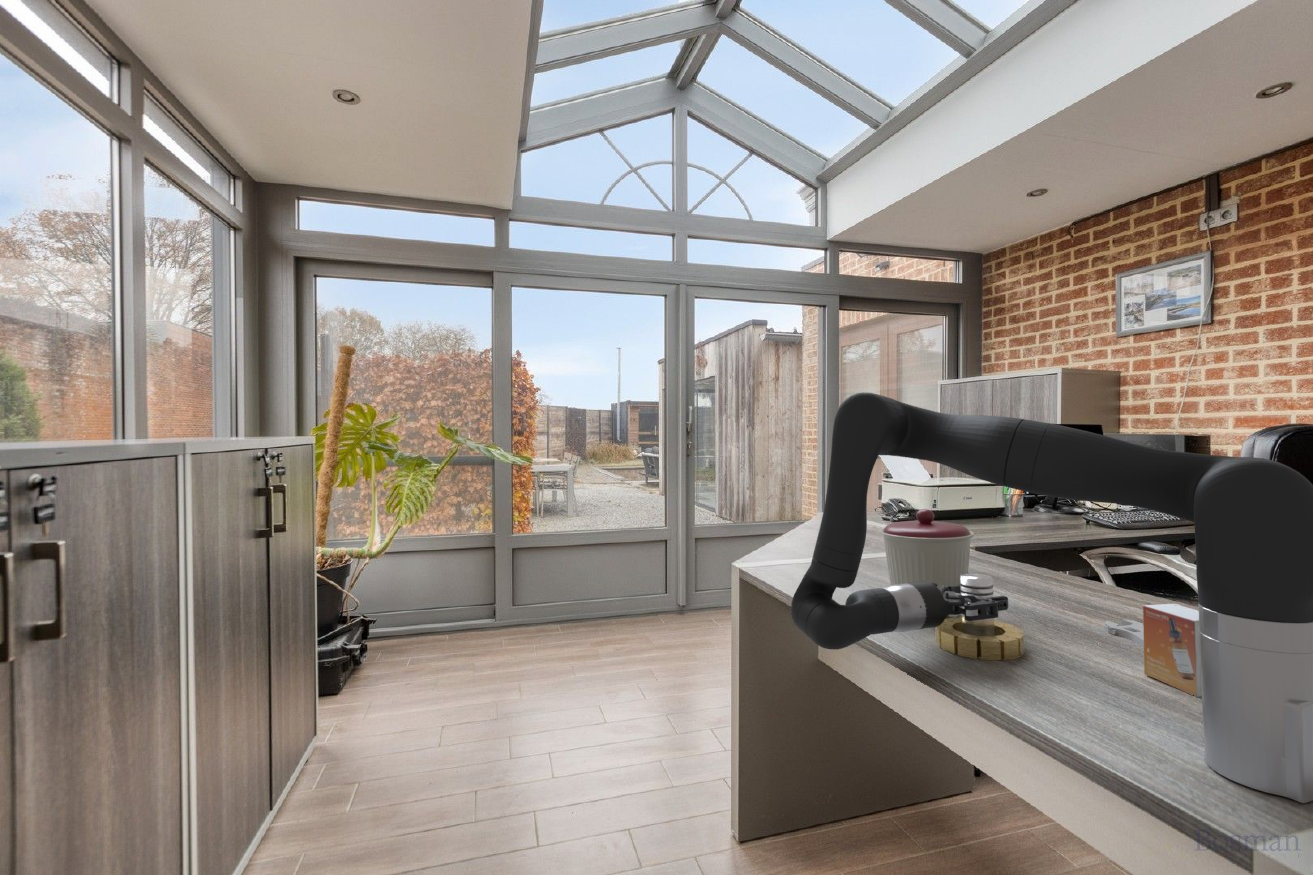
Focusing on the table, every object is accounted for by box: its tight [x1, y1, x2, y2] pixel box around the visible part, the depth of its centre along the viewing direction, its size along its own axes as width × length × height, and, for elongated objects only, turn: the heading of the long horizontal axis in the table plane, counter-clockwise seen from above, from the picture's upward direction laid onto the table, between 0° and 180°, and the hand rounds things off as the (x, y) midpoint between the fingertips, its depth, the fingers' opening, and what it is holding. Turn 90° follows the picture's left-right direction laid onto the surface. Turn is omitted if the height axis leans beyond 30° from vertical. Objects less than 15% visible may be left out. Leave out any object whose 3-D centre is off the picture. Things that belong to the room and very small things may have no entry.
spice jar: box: [960, 573, 995, 636], centre depth 103 cm, size 5×5×12 cm
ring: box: [934, 616, 1026, 661], centre depth 103 cm, size 13×13×3 cm
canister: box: [879, 508, 975, 586], centre depth 126 cm, size 18×18×21 cm
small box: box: [1142, 603, 1202, 698], centre depth 85 cm, size 8×6×10 cm
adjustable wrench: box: [1104, 618, 1144, 648], centre depth 100 cm, size 25×6×2 cm, turn 160°
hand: (985, 596), depth 104 cm, fingers open, 8 cm apart
